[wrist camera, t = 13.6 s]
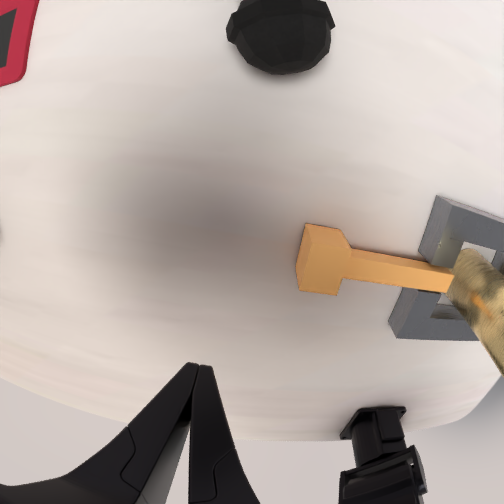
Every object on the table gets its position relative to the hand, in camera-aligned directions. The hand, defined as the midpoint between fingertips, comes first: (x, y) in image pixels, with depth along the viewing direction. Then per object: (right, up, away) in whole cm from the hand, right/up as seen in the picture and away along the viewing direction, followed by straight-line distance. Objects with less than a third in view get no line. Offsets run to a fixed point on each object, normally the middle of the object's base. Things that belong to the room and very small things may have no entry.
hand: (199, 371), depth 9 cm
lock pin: (+11, +3, +11) cm, 16 cm away
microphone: (+3, +23, +3) cm, 23 cm away
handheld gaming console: (-23, +23, +4) cm, 33 cm away
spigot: (+19, +2, +11) cm, 22 cm away
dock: (+19, +2, +11) cm, 22 cm away
